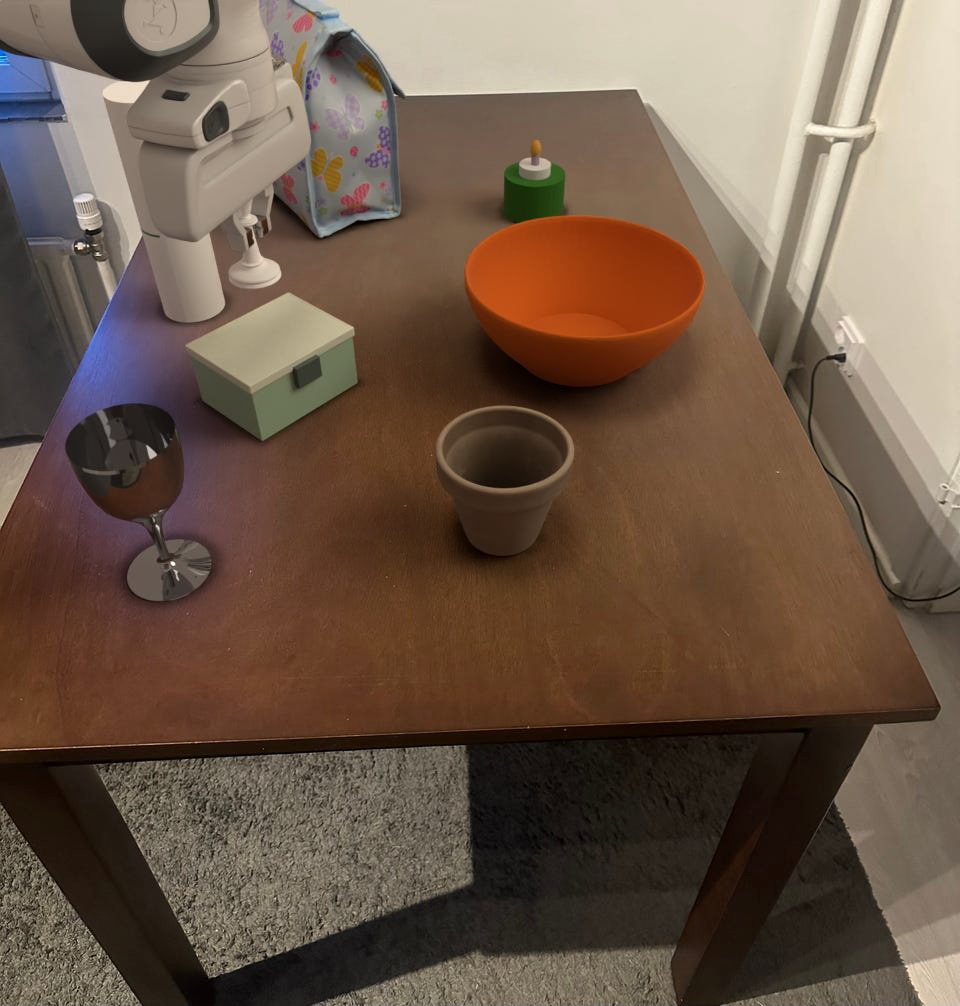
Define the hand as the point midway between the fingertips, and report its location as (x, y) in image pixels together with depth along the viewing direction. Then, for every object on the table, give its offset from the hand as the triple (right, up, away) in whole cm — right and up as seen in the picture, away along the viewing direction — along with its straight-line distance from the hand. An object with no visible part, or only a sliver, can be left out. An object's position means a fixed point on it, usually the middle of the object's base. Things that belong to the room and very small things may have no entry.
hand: (251, 241), depth 83 cm
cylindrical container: (-13, -1, +24) cm, 28 cm away
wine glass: (-6, -30, -6) cm, 31 cm away
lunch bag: (0, +19, +45) cm, 49 cm away
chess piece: (0, -3, +2) cm, 4 cm away
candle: (+29, +16, +42) cm, 53 cm away
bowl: (+32, -7, +18) cm, 37 cm away
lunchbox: (0, -12, +12) cm, 17 cm away
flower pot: (+23, -27, -2) cm, 36 cm away
